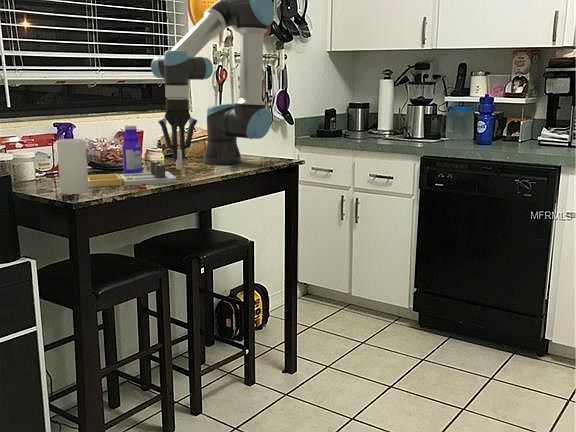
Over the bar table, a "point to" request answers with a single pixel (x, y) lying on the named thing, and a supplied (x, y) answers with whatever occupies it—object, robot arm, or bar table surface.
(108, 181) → the yellow square tray
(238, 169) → the bar table surface
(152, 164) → the block
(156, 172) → the breaker
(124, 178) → the breaker board
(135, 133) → the bottle
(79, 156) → the light grey upright block
